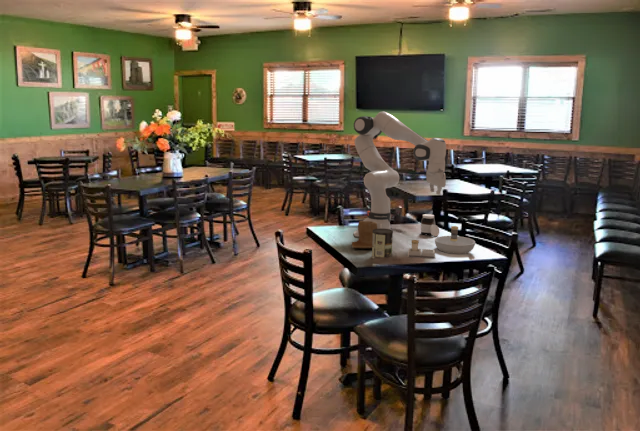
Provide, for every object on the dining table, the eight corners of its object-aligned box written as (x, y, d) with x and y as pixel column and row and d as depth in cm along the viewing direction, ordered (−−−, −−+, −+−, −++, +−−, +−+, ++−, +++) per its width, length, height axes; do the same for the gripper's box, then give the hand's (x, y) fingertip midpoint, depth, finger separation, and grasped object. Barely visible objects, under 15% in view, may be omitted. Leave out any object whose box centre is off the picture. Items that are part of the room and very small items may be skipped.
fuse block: (407, 259, 283) (407, 252, 282) (407, 254, 293) (407, 247, 292) (435, 261, 281) (436, 253, 280) (434, 256, 291) (435, 248, 290)
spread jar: (423, 231, 347) (424, 213, 345) (441, 233, 342) (442, 215, 340) (418, 235, 336) (419, 216, 334) (436, 237, 332) (438, 218, 329)
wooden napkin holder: (375, 244, 312) (376, 218, 309) (380, 250, 301) (381, 222, 298) (348, 245, 310) (349, 218, 308) (352, 250, 299) (353, 223, 296)
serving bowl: (429, 247, 308) (430, 235, 307) (466, 247, 310) (467, 235, 309) (440, 258, 288) (441, 245, 287) (480, 258, 290) (481, 245, 288)
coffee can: (389, 254, 292) (390, 228, 289) (393, 260, 282) (394, 232, 279) (370, 254, 291) (371, 228, 289) (373, 260, 281) (374, 232, 278)
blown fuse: (451, 241, 295) (452, 227, 293) (449, 239, 298) (450, 226, 297) (458, 241, 295) (459, 227, 294) (456, 239, 299) (456, 226, 297)
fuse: (410, 255, 286) (411, 241, 284) (410, 253, 289) (411, 239, 288) (418, 255, 285) (418, 241, 284) (417, 254, 289) (418, 239, 287)
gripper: (449, 170, 298) (447, 196, 301) (435, 166, 318) (434, 190, 321) (438, 170, 297) (436, 196, 300) (424, 166, 317) (423, 190, 320)
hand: (435, 193), depth 310 cm, fingers open, 8 cm apart
